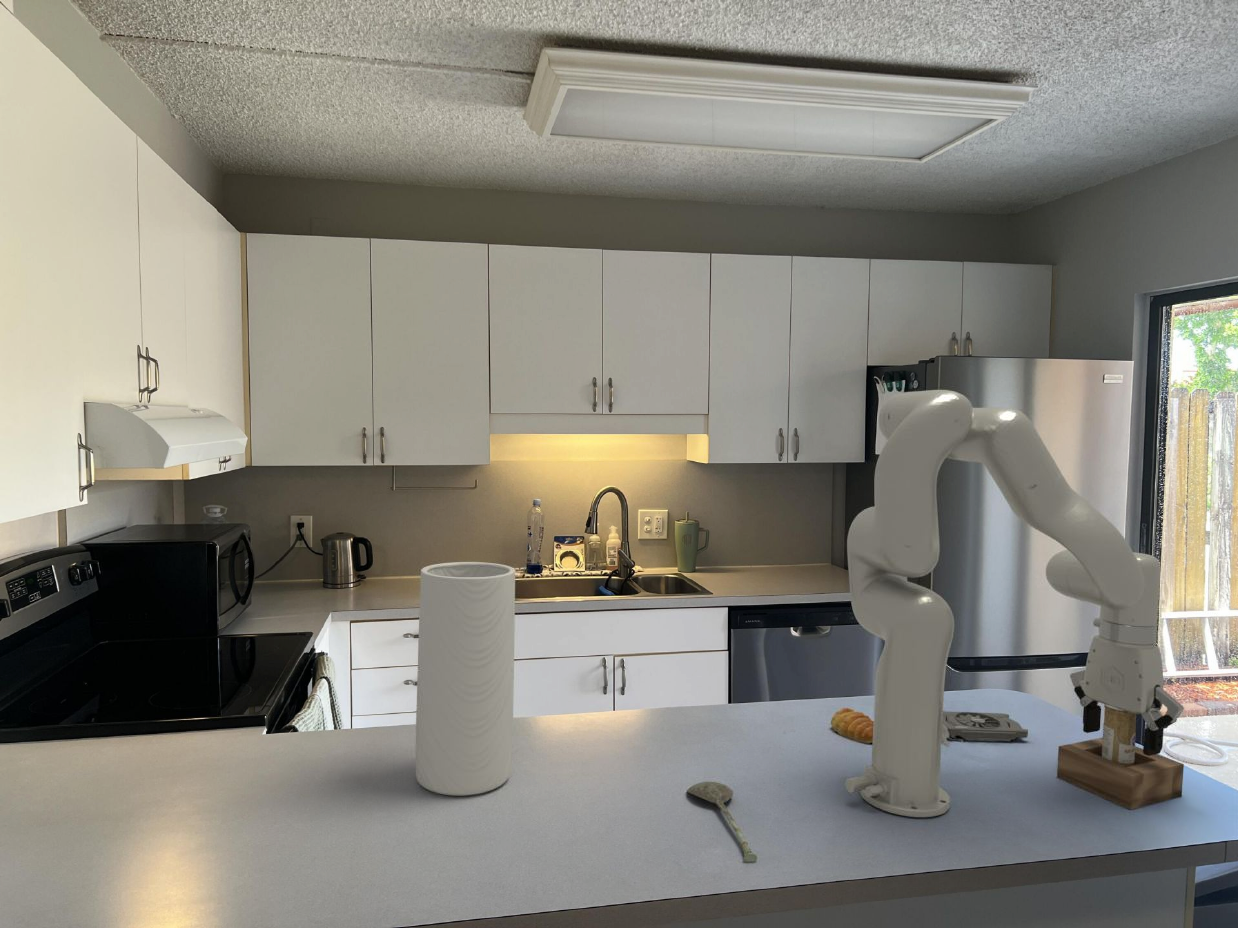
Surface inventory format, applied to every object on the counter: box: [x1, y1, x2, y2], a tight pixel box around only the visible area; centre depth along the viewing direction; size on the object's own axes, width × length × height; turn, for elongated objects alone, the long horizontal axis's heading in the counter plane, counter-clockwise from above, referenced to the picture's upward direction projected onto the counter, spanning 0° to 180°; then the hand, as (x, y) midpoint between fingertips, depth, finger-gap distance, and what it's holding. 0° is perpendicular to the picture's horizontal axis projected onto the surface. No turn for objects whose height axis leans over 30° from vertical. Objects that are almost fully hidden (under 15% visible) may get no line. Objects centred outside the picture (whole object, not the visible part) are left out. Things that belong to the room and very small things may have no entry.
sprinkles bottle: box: [1102, 704, 1137, 767], centre depth 130 cm, size 5×5×14 cm
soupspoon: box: [686, 781, 758, 863], centre depth 115 cm, size 22×3×7 cm
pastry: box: [830, 707, 874, 745], centre depth 149 cm, size 9×7×4 cm
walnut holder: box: [1056, 737, 1185, 811], centre depth 130 cm, size 12×12×5 cm
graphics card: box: [941, 710, 1029, 748], centre depth 150 cm, size 17×4×12 cm
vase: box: [414, 561, 516, 797], centre depth 125 cm, size 14×14×32 cm
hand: (1120, 742), depth 130 cm, fingers open, 9 cm apart
